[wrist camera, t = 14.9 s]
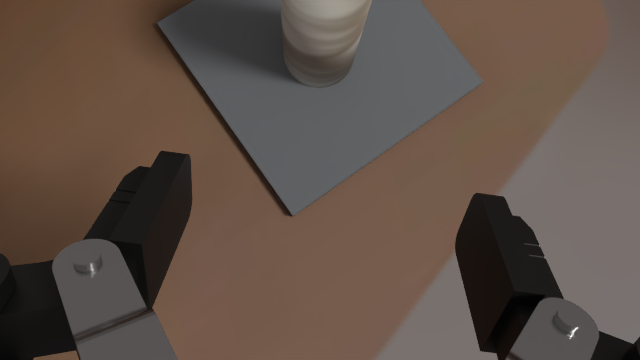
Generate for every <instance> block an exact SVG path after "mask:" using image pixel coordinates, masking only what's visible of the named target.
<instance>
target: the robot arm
mask: <svg viewBox="0 0 640 360" xmlns="http://www.w3.org/2000/svg"><path fill="white" fill-rule="evenodd" d="M191 206H192V181H191V159H190V156H189V154H182V153H174V152H167V151H161V152H160V153H159V154H158V156H157V158H156V159H155V161H154V163H153V165H152V166H151V168H150V167H142V166H139V167H137V168H136V169H134V170H133V171H131V172H130V173H129V174H127V175H126V176H124V178H123V179H122V181H121V182H120V184H119V185H118V187H117V189H116V192H114V193H113V195H112V196H111V198H110V199H109V202H107V204H106V206H105V207H104V209H103V210H102V212H101V213H100V215H99V216H98V218H97V219H96V221H95V223H94V224H93V226H92V227H91V229H90V230H89V232H88V233H87V235H86V236H85V238H84V240H82V241H78V242H76V243H73V244H71V245H69V246H67V247H66V248H64V249H63V250H62V251H61V252H60V253H59V254H58V255H57V256H56V257H55V259H54V260H51V261H47V262H41V263H33V264H24V265H15V266H10V264H9V261H8V259H7V258H6V257H5V256H4V255H2V254H0V360H33V358H34V357H39V356H45V355H51V354H57V353H63V352H69V351H75V350H76V351H77V354H78V358H79V360H178V359H177V357H176V355H175V352H174V350H173V348H172V346H171V344H170V342H169V340H168V338H167V336H166V334H165V332H164V330H163V327H162V325H161V323H160V321H159V319H158V317H157V315H156V313H155V311H154V310H153V309H152V307H153V304H154V302H155V300H156V297H157V295H158V292H159V290H160V287H161V285H162V283H163V280H164V278H165V275H166V273H167V270H168V268H169V266H170V263H171V261H172V258H173V256H174V253H175V251H176V249H177V246H178V244H179V241H180V239H181V236H182V234H183V231H184V229H185V227H186V224H187V222H188V219H189V216H190V212H191ZM455 251H456V256H457V260H458V264H459V268H460V272H461V276H462V280H463V284H464V288H465V292H466V296H467V300H468V304H469V308H470V312H471V316H472V320H473V324H474V328H475V332H476V336H477V340H478V344H479V348H480V351H484V352H492V353H497V356H498V360H640V337H639V338H638V340H637V341H636V342H635V343H634V344H632V343H629V342H626V341H624V340H621V339H619V338H616V337H613V336H611V335H608V334H605V333H603V332H600V331H598V328H597V325H596V323H595V322H594V320H593V319H592V318H591V317H590V315H588V314H587V313H586V312H585V311H584V310H583V309H581V308H580V307H579V306H577V305H576V304H574V303H572V302H570V301H567V300H564V298H563V296H562V293H561V291H560V289H559V287H558V285H557V283H556V280H555V278H554V276H553V274H552V272H551V269H550V267H549V265H548V263H547V261H546V259H544V254H543V252H542V250H541V248H540V247H539V243H538V241H537V239H536V236H535V234H534V232H533V230H532V229H531V228H530V227H529V226H528V225H527V224H526V223H525V222H524V221H523V220H522V219H521V217H519V216H512V214H511V211H510V209H509V207H508V204H507V202H506V200H505V198H504V197H503V196H496V195H488V194H481V193H475V194H474V195H473V197H472V199H471V201H470V204H469V206H468V208H467V211H466V213H465V216H464V218H463V221H462V223H461V225H460V228H459V230H458V233H457V236H456V243H455Z"/></svg>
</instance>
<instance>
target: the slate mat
mask: <svg viewBox="0 0 640 360" xmlns="http://www.w3.org/2000/svg"><path fill="white" fill-rule="evenodd" d="M157 24H158V26H159V27H160V29H161V30H162V31H163V33H164V34H165V36H166V37H167V39H168V40H169V41H170V43H171V44H172V46H173V47H174V49H175V50H176V51H177V53H178V54H179V56H180V57H181V58H182V60H183V61H184V63H185V64H186V66H187V67H188V68H189V70H190V71H191V73H192V74H193V75H194V77H195V78H196V80H197V81H198V83H199V84H200V85H201V87H202V88H203V90H204V91H205V93H206V94H207V95H208V97H209V98H210V100H211V101H212V102H213V104H214V105H215V107H216V108H217V110H218V111H219V112H220V114H221V115H222V117H223V118H224V119H225V121H226V122H227V124H228V125H229V127H230V128H231V129H232V131H233V132H234V134H235V135H236V137H237V138H238V139H239V141H240V142H241V144H242V145H243V146H244V148H245V149H246V151H247V152H248V154H249V155H250V156H251V158H252V159H253V161H254V162H255V163H256V165H257V166H258V168H259V169H260V171H261V172H262V173H263V175H264V176H265V178H266V179H267V180H268V182H269V183H270V185H271V186H272V188H273V189H274V190H275V192H276V193H277V195H278V196H279V198H280V199H281V200H282V202H283V203H284V205H285V206H286V207H287V209H288V210H289V212H290V213H291V215H292V216H295V215H296V214H297V213H299V212H300V211H302V210H303V209H304V208H306V207H307V206H309V205H310V204H312V203H313V202H314V201H316V200H317V199H319V198H320V197H321V196H323V195H324V194H326V193H327V192H329V191H330V190H331V189H333V188H334V187H336V186H337V185H339V184H340V183H341V182H343V181H344V180H346V179H347V178H348V177H350V176H351V175H353V174H354V173H356V172H357V171H358V170H360V169H361V168H363V167H364V166H365V165H367V164H368V163H370V162H371V161H373V160H374V159H375V158H377V157H378V156H380V155H381V154H383V153H384V152H385V151H387V150H388V149H390V148H391V147H392V146H394V145H395V144H397V143H398V142H400V141H401V140H402V139H404V138H405V137H407V136H408V135H410V134H411V133H412V132H414V131H415V130H417V129H418V128H419V127H421V126H422V125H424V124H425V123H427V122H428V121H429V120H431V119H432V118H434V117H435V116H436V115H438V114H439V113H441V112H442V111H444V110H445V109H446V108H448V107H449V106H451V105H452V104H454V103H455V102H456V101H458V100H459V99H461V98H462V97H463V96H465V95H466V94H468V93H469V92H471V91H472V90H473V89H475V88H476V87H478V86H479V85H480V84H481V83H483V81H482V79H481V78H480V77H479V76H478V74H477V73H476V72H475V70H474V69H473V68H472V67H471V65H470V64H469V63H468V61H467V60H466V59H465V58H464V56H463V55H462V54H461V52H460V51H459V50H458V49H457V47H456V46H455V45H454V43H453V42H452V41H451V40H450V38H449V37H448V36H447V34H446V33H445V32H444V31H443V29H442V28H441V27H440V25H439V24H438V23H437V22H436V20H435V19H434V18H433V16H432V15H431V14H430V13H429V11H428V10H427V9H426V7H425V6H424V5H423V4H422V2H421V1H420V0H372V2H371V5H370V8H369V11H368V15H367V18H366V21H365V25H364V28H363V31H362V34H361V38H360V41H359V44H358V47H357V51H356V54H355V57H354V60H353V64H352V67H351V69H350V71H349V73H348V74H347V75H346V76H345V77H344V78H343V79H342V80H341V81H340V82H338V83H337V84H335V85H332V86H329V87H324V88H314V87H309V86H306V85H304V84H302V83H300V82H299V81H297V80H296V79H295V78H294V77H293V76H292V75H291V74H290V73H289V71H288V70H287V68H286V65H285V62H284V57H283V38H282V19H281V0H194V1H192V2H190V3H189V4H187V5H185V6H184V7H182V8H180V9H179V10H177V11H176V12H174V13H172V14H171V15H169V16H167V17H166V18H164V19H162V20H161V21H159V22H157Z"/></svg>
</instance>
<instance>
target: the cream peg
mask: <svg viewBox="0 0 640 360" xmlns="http://www.w3.org/2000/svg"><path fill="white" fill-rule="evenodd" d="M371 2H372V0H281V19H282V38H283V57H284V62H285V65H286V68H287V70H288V71H289V73H290V74H291V75H292V76H293V77H294V78H295V79H296V80H297V81H299V82H300V83H302V84H304V85H306V86H309V87H314V88H324V87H329V86H332V85H335V84H337V83H338V82H340V81H341V80H342V79H343V78H344V77H345V76H346V75H347V74H348V73H349V71H350V69H351V67H352V64H353V60H354V57H355V54H356V51H357V47H358V44H359V41H360V38H361V34H362V31H363V28H364V25H365V21H366V18H367V15H368V11H369V8H370V5H371Z"/></svg>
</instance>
